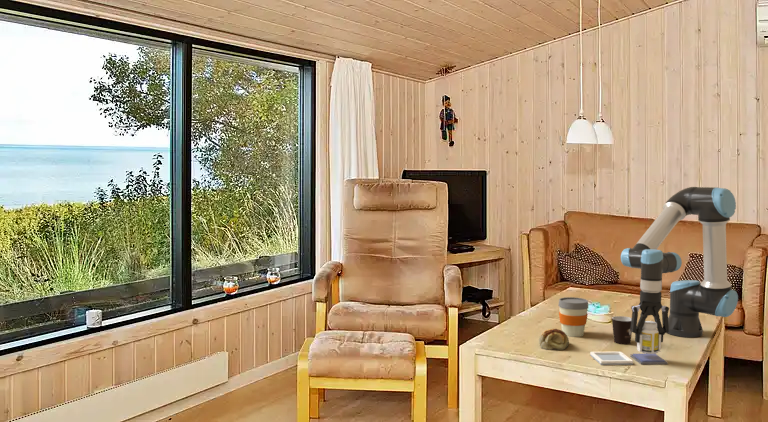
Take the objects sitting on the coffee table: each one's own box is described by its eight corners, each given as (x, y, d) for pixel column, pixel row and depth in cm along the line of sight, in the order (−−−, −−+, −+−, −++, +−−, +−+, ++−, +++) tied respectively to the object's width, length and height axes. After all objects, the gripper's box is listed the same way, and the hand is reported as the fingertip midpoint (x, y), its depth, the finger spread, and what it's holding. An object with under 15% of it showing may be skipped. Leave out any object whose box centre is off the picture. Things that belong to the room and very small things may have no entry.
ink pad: (655, 356, 257) (655, 352, 257) (667, 364, 247) (667, 360, 247) (630, 356, 257) (630, 353, 257) (641, 364, 247) (641, 361, 247)
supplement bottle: (653, 349, 255) (654, 320, 254) (660, 354, 249) (662, 324, 248) (636, 349, 255) (637, 320, 254) (643, 354, 249) (644, 324, 248)
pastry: (547, 352, 263) (548, 332, 262) (531, 344, 275) (532, 324, 274) (578, 349, 267) (579, 329, 267) (561, 341, 279) (561, 322, 279)
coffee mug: (619, 345, 271) (620, 321, 271) (606, 340, 280) (607, 316, 279) (643, 343, 274) (644, 319, 274) (630, 338, 283) (631, 315, 282)
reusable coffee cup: (584, 330, 295) (585, 297, 294) (590, 338, 283) (591, 303, 281) (555, 330, 296) (556, 296, 295) (560, 337, 284) (561, 303, 283)
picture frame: (620, 355, 259) (620, 351, 259) (633, 364, 247) (633, 360, 247) (590, 355, 258) (590, 351, 258) (601, 365, 247) (601, 361, 246)
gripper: (671, 288, 254) (669, 347, 256) (621, 288, 253) (619, 348, 255) (680, 292, 247) (678, 353, 248) (629, 292, 246) (627, 353, 248)
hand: (648, 350), depth 252 cm, fingers closed on supplement bottle, 6 cm apart
